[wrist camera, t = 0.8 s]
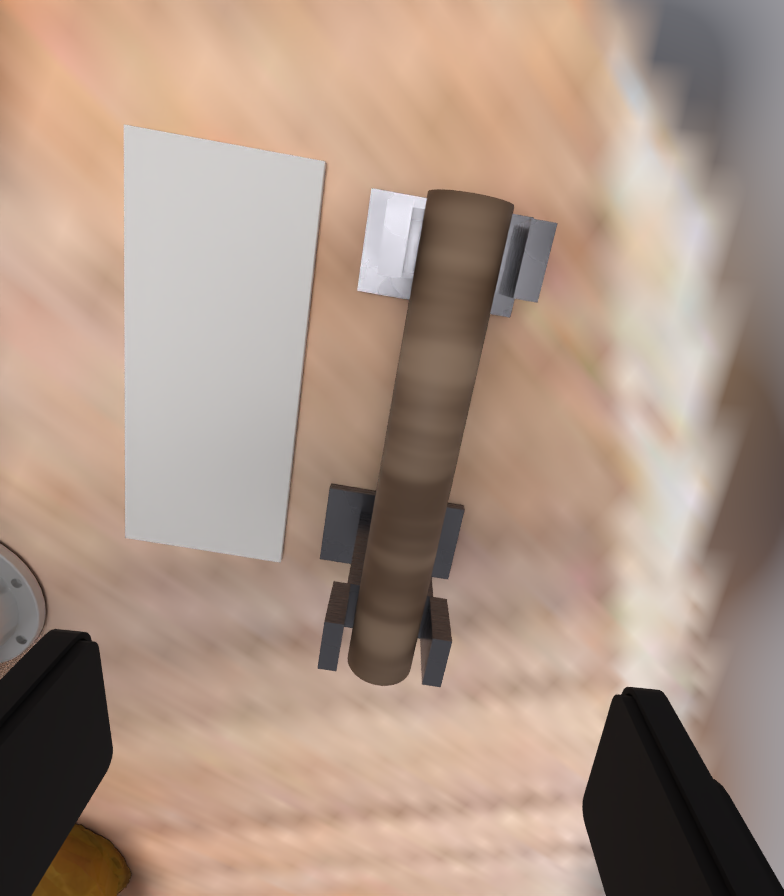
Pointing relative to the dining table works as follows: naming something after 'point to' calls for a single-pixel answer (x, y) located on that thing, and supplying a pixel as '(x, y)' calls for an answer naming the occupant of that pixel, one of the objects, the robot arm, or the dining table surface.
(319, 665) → the rack
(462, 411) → the rod
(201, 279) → the mat
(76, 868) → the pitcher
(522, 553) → the dining table surface
